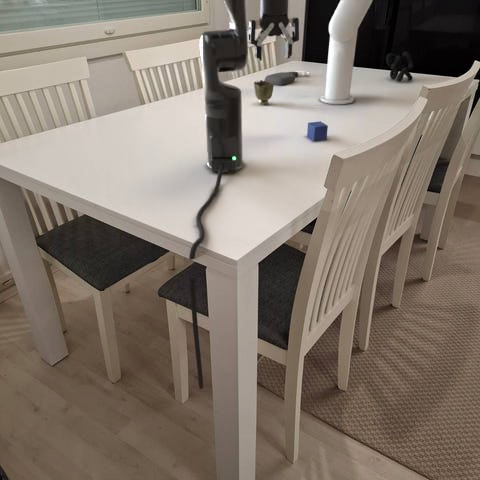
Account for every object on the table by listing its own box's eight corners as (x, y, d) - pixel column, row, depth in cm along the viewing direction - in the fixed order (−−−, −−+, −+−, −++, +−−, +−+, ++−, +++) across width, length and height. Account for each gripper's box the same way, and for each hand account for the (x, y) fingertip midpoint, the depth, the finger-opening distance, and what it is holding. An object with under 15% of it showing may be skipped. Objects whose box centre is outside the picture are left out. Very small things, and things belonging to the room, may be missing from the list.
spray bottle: (262, 82, 200) (292, 74, 216) (282, 86, 194) (312, 76, 210) (262, 76, 198) (293, 67, 214) (282, 79, 192) (312, 70, 208)
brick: (326, 139, 136) (327, 125, 133) (313, 141, 135) (314, 127, 132) (319, 135, 140) (320, 121, 137) (306, 136, 138) (307, 122, 136)
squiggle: (400, 92, 202) (376, 71, 205) (417, 76, 202) (392, 56, 205) (405, 81, 191) (380, 59, 194) (423, 64, 191) (397, 42, 194)
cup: (250, 105, 169) (250, 83, 165) (259, 100, 175) (259, 79, 171) (268, 107, 166) (268, 85, 162) (276, 102, 172) (277, 80, 168)
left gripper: (293, -7, 123) (291, 55, 132) (244, -5, 120) (245, 59, 128) (304, -7, 117) (301, 59, 125) (253, -5, 114) (253, 63, 122)
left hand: (273, 59), depth 127 cm, fingers open, 8 cm apart
